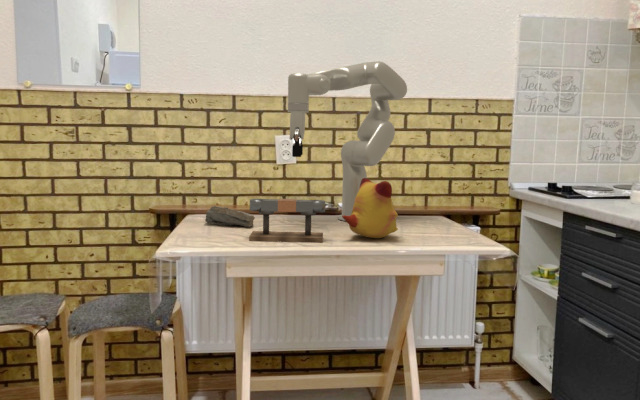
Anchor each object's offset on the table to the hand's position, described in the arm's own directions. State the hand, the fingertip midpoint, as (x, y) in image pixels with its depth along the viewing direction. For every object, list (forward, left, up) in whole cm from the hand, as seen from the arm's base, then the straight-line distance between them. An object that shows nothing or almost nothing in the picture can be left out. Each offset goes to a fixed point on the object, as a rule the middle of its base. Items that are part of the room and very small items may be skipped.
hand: (297, 155), depth 210 cm
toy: (-25, +18, -26) cm, 41 cm away
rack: (+2, +22, -26) cm, 34 cm away
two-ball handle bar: (+2, +22, -17) cm, 28 cm away
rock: (+25, 0, -27) cm, 37 cm away
